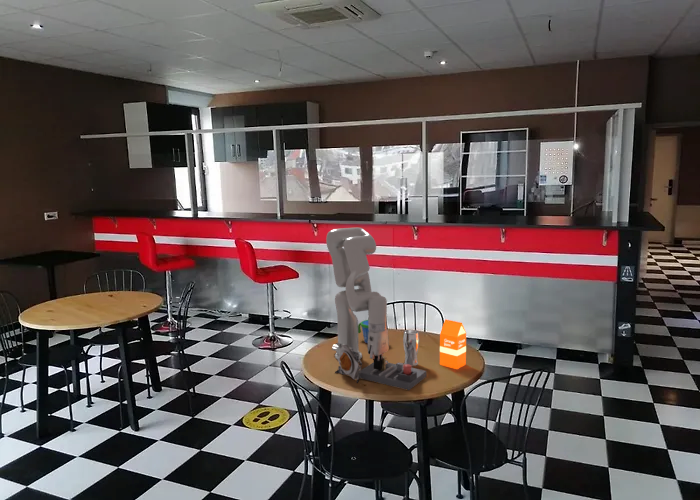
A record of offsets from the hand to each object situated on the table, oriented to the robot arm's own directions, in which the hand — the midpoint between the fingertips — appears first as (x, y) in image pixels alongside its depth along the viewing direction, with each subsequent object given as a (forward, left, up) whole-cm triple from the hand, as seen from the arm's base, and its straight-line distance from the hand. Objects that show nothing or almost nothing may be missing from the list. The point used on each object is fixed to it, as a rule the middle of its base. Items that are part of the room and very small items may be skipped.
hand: (377, 368), depth 217 cm
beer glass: (+4, +22, -5) cm, 23 cm away
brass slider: (0, +3, -2) cm, 4 cm away
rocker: (-4, +10, -1) cm, 11 cm away
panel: (+4, +5, -4) cm, 8 cm away
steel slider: (+7, +6, -2) cm, 9 cm away
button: (+13, +1, 0) cm, 13 cm away
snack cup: (-27, +39, -5) cm, 48 cm away
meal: (-12, -5, -5) cm, 14 cm away
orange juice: (+20, +31, -5) cm, 37 cm away
